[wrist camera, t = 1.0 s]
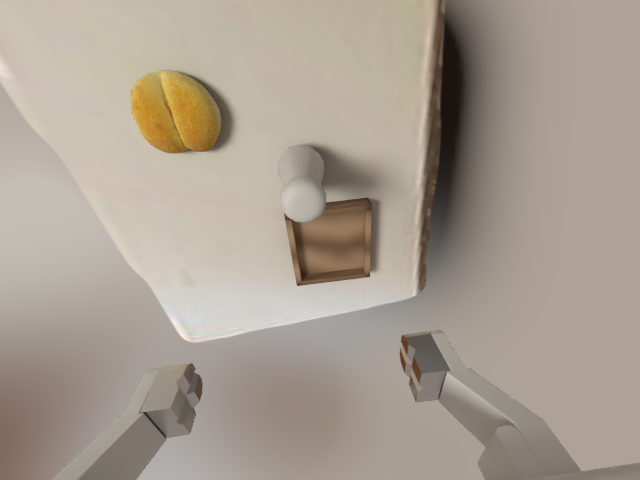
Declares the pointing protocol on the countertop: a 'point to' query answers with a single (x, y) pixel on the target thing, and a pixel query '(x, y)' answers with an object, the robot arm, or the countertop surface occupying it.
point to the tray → (332, 243)
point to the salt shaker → (302, 183)
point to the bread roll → (175, 112)
